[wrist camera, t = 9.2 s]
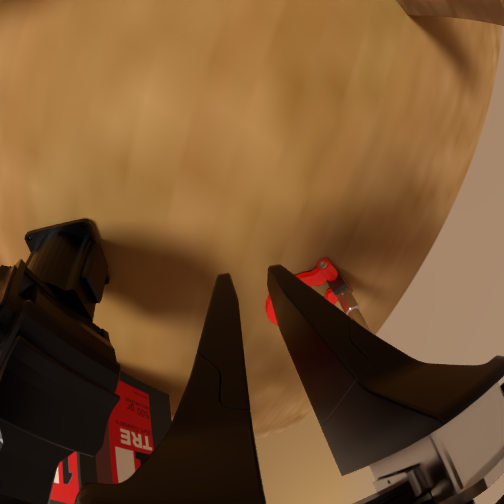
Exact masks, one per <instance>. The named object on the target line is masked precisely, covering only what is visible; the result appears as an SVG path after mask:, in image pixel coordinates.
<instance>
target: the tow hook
mask: <svg viewBox="0 0 504 504" xmlns="http://www.w3.org/2000/svg"><path fill="white" fill-rule="evenodd" d="M295 276H296V277H298V278H299V279H300V280H302V281H303V282H304V283H306V284H307V285H308V286H320V285H321V284H323V283H324V282H326V281H327V282H328V284H329V286H330V289H328V290H327V291H326V294H325V297H324V298H325V299H327V300H328V301H329V302H331V303H332V304H333V305H335V304H336V302H337V301H338V300H339V302H340V304H341V306H342V308H343V310H344V312H345V314H347V315H348V316H349V317H351V319H353V320H355V321H356V322H357V323H359V324H360V325H361V326H363V327H364V328H365V329H367V330H368V331H370V329H369V328H368V326H367V324H366V322H365V320H364V318H363V316H362V314H361V313H360V311H359V310H360V307H359V305H358V303H357V302H356V300H355V298H354V296H353V295H352V292H353V290H352V288H351V287H350V286H349V285H348V283H347V282H346V280H345V278H344V277H343V276H342V275H341V274H340V272H339V271H338V270H337V269H335V268H334V266H333V265H332V264H331V263H330V262H329V261H328V259H321V260H320V261H319V262H318V263H317V268H315V269H314V270H312V271H311V272H305V273H301V274H298V275H295ZM265 309H266V313H267V316H268V318H269V319H270V321H271V322H273V323H274V324H276V325H278V323H277V320H276V316H275V313H274V309H273V305H272V302H271V298H270V295H269V296H268V298H267V300H266V305H265ZM370 332H371V331H370Z"/></svg>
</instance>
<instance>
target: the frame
mask: <svg viewBox="0 0 504 504" xmlns="http://www.w3.org/2000/svg"><path fill="white" fill-rule="evenodd" d="M397 1H398V3H399V4H400V5H401V7H402V8H403V9H404V11H405V12H406V13H407V15H419V16H440V17H452V18H461V19H469V20H476V21H482V22H488V23H493V24H498V25H502V26H504V0H397Z"/></svg>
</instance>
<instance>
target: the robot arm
mask: <svg viewBox="0 0 504 504" xmlns="http://www.w3.org/2000/svg"><path fill="white" fill-rule="evenodd" d="M82 224H84V225H85V226H86V227H82ZM29 237H31V239H30V238H29ZM25 241H26V243H27V245H28V247H29V249H30V251H31V254H30V256H29V258H28V260H27V262H26V263H25V262H24V261H23V260H22V259H20V260H19V261H18V263H17V264H16V265H14V266H12V267H11V266H10V267H8V266H3V265H1V267H0V504H49V502H50V497H51V492H52V488H53V483H54V479H55V475H56V471H57V468H58V465H59V463H60V462H62V461H63V460H64V459H66V458H67V457H68V456H70V455H71V454H72V453H74V452H78V453H81V454H84V455H88V456H91V457H94V456H95V455H96V454H97V453H98V452H99V450H100V449H101V448H102V446H103V442H104V437H105V431H106V427H107V423H108V420H109V417H110V415H111V413H112V411H113V409H114V408H115V406H116V405H117V403H118V402H119V400H120V395H118V394H116V390H117V387H118V382H119V378H120V364H119V363H118V362H116V355H115V350H114V348H113V346H112V345H111V343H110V339H109V335H108V332H107V331H105V330H104V329H100V328H99V327H98V326H96V325H95V324H94V323H92V322H93V317H94V311H95V305H96V303H100V301H101V300H102V294H103V289H104V285H105V284H108V283H109V281H110V276H109V273H108V271H107V269H108V265H107V262H106V260H105V257H104V255H103V252H102V250H101V247H100V244H99V243H98V242H96V240H95V237H94V234H93V232H92V229H91V226H90V223H89V221H88V220H86V219H80V220H75V221H71V222H66V223H62V224H57V225H53V226H49V227H45V228H41V229H37V230H33V231H29V232H27V234H26V235H25ZM267 286H268V291H269V295H270V298H271V302H272V305H273V309H274V313H275V316H276V320H277V323H278V326H279V329H280V332H281V334H282V336H283V339H284V341H285V344H286V346H287V348H288V351H289V353H290V355H291V358H292V360H293V362H294V365H295V367H296V370H297V372H298V374H299V377H300V379H301V381H302V384H303V386H304V388H305V391H306V393H307V395H308V398H309V400H310V402H311V405H312V407H313V410H314V412H315V414H316V416H317V419H318V421H319V423H320V426H321V427H322V428H321V429H322V431H323V433H324V436H325V438H326V440H327V442H328V445H329V447H330V449H331V452H332V454H333V457H334V459H335V461H336V464H337V466H338V468H339V470H340V473H341V475H342V476H344V475H346V474H349V473H352V472H354V471H357V470H359V469H361V468H364V467H366V466H370V469H371V471H372V473H373V476H374V478H375V481H374V482H373V484H374V486H375V489H376V491H377V493H375V494H373V495H371V496H369V497H367V498H364V499H362V500H360V501H358V502H355V503H353V504H475V502H474V500H473V498H475V497H476V496H478V495H479V494H481V493H482V492H483V491H485V490H486V489H487V488H489V487H490V486H491V485H492V484H493V483H494V482H495V481H496V480H497V479H498V478H499V477H500V476H501V475H502V474H503V473H504V383H502V384H501V385H500V386H499V384H498V381H499V380H500V379H501V378H502V377H503V376H504V356H495V357H494V358H493V359H492V360H490V361H489V362H488V363H485V364H483V365H447V364H430V363H424V362H421V361H418V360H416V359H414V358H412V357H410V356H408V355H407V354H405V353H403V352H401V351H400V350H398V349H397V348H395V347H393V346H392V345H390V344H388V343H387V342H385V341H383V340H382V339H380V338H379V337H377V336H376V335H374V334H373V333H371V332H370V331H368V330H367V329H365V328H364V327H363V326H361V325H360V324H359V323H357V322H356V321H355V320H353V319H351V317H349V316H348V315H347V314H345V313H344V312H343V311H341V310H340V309H339V308H337V307H336V306H335V305H333V304H332V303H331V302H329V301H328V300H327V299H325V298H324V297H323V296H322V295H320V294H319V293H318V292H316V291H315V290H314V289H312V288H311V287H310V286H308V285H307V284H306V283H304V282H303V281H302V280H300V279H299V278H298V277H296V276H295V275H294V274H292V273H291V272H290V271H288V270H287V269H286V268H284V267H283V266H282V265H273V266H269V267H268V278H267ZM74 504H266V500H265V496H264V490H263V484H262V479H261V473H260V468H259V462H258V457H257V450H256V444H255V438H254V432H253V426H252V418H251V412H250V402H249V394H248V385H247V376H246V368H245V359H244V350H243V341H242V331H241V322H240V312H239V303H238V298H237V294H236V291H235V288H234V285H233V282H232V279H231V276H230V274H229V273H224V274H219V275H218V276H217V278H216V282H215V286H214V289H213V293H212V297H211V300H210V304H209V308H208V312H207V315H206V319H205V323H204V327H203V331H202V334H201V338H200V342H199V346H198V350H197V354H196V357H195V361H194V365H193V368H192V372H191V375H190V378H189V381H188V384H187V386H186V389H185V392H184V394H183V397H182V399H181V401H180V404H179V406H178V409H177V411H176V414H175V416H174V418H173V421H172V423H171V425H170V428H169V430H168V432H167V433H166V435H165V437H164V438H163V440H162V441H161V443H160V444H159V445H158V446H157V447H156V448H155V449H154V451H153V452H152V453H151V454H150V455H149V456H148V458H147V459H146V460H145V461H144V462H143V463H142V464H141V466H140V467H139V468H138V469H137V470H136V471H135V472H134V473H133V475H132V476H130V477H129V478H128V479H127V480H125V481H123V482H121V483H117V484H102V483H84V484H83V485H82V487H81V489H80V491H79V492H78V494H77V496H76V499H75V503H74ZM496 504H504V495H503V496H502V497H501V498H500V499H499V500H498V501H497V503H496Z"/></svg>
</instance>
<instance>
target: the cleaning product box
mask: <svg viewBox="0 0 504 504" xmlns="http://www.w3.org/2000/svg"><path fill="white" fill-rule="evenodd" d="M116 394H118V395H120V400H119V402H118V403H117V405H116V406H115V408H114V409H113V411H112V413H111V415H110V417H109V420H108V423H107V427H106V431H105V437H104V442H103V446H102V448H101V449H100V450H99V452H98V453H97V454H96V455H95V456H94V457H91V456H88V455H84V454H81V453H78V452H74V453H72V454H71V455H70V456H68V457H67V458H66V459H64V460H63V461H62V462H60V463H59V465H58V468H57V471H56V475H55V479H54V483H53V488H52V492H51V497H50V502H49V504H74V503H75V499H76V496H77V494H78V492H79V491H80V489H81V487H82V485H83V484H84V483H102V484H117V483H121V482H123V481H125V480H127V479H128V478H129V477H130V476H132V475H133V473H134V472H135V471H136V470H137V469H138V468H139V467H140V466H141V464H142V463H143V462H144V461H145V460H146V459H147V458H148V456H149V455H150V454H151V453H152V452H153V451H154V449H155V448H156V447H157V446H158V445H159V444H160V443H161V441H162V440H163V438H164V437H165V435H166V433H167V432H168V430H169V428H170V425H171V423H172V420H171V412H170V403H169V395H167V394H165V393H162V392H160V391H158V390H156V389H154V388H152V387H150V386H148V385H146V384H144V383H142V382H140V381H138V380H136V379H134V378H132V377H130V376H129V375H127V374H125V373H123V372H121V371H120V378H119V382H118V387H117V390H116Z"/></svg>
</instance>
